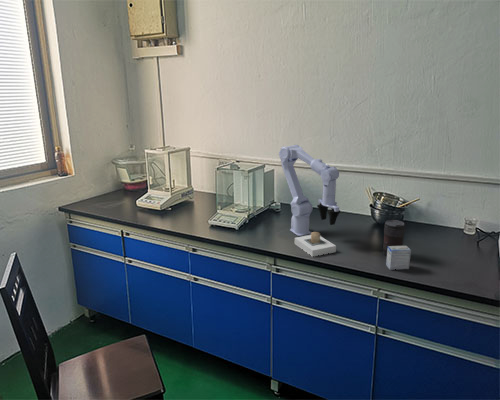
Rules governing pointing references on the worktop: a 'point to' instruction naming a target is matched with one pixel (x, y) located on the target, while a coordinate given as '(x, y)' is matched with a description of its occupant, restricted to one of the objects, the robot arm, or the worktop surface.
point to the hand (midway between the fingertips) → (327, 221)
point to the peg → (315, 237)
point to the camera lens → (393, 234)
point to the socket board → (315, 246)
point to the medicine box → (398, 257)
